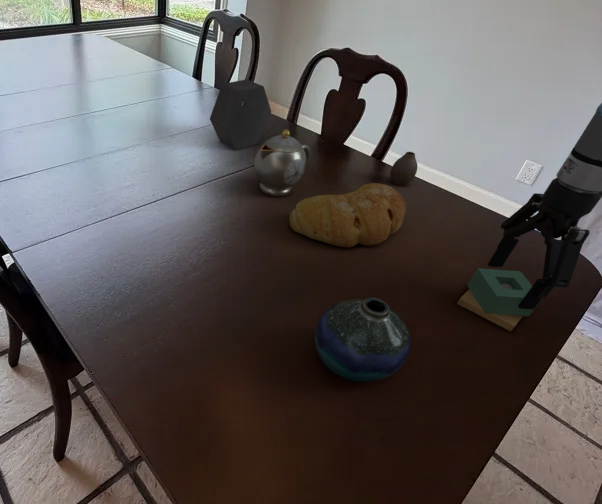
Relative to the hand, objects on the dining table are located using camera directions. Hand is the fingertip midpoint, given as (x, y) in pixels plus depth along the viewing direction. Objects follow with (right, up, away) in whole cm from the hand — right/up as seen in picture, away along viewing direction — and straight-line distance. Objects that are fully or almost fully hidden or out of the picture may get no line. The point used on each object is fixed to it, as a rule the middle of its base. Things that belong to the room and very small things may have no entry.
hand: (509, 285), depth 88 cm
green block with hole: (0, -3, +3) cm, 4 cm away
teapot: (-40, +32, +36) cm, 62 cm away
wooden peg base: (-1, -4, +4) cm, 5 cm away
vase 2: (-2, +36, +43) cm, 57 cm away
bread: (-23, +18, +23) cm, 38 cm away
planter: (-49, +55, +57) cm, 93 cm away
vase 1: (-35, -15, -10) cm, 40 cm away
